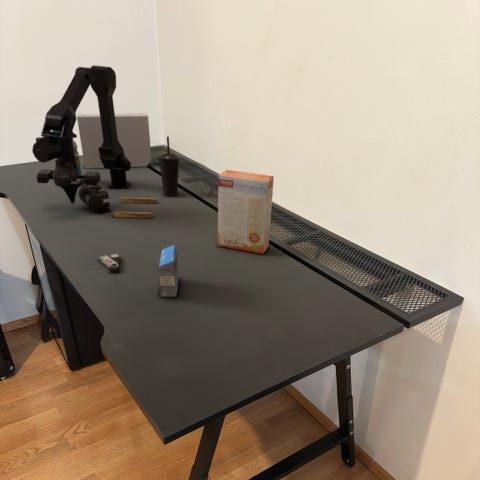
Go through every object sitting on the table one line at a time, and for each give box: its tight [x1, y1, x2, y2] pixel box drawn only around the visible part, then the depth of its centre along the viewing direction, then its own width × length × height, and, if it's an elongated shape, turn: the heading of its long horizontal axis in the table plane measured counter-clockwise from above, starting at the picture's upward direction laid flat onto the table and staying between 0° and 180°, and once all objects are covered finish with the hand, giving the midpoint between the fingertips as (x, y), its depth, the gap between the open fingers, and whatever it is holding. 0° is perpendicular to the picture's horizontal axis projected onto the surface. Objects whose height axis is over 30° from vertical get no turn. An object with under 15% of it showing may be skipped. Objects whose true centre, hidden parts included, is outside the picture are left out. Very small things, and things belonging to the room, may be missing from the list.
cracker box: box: [217, 169, 274, 255], centre depth 126 cm, size 14×6×21 cm, turn 71°
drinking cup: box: [157, 136, 181, 198], centre depth 160 cm, size 8×8×20 cm
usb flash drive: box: [98, 253, 120, 273], centre depth 120 cm, size 9×5×1 cm, turn 12°
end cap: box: [78, 184, 111, 214], centre depth 150 cm, size 10×7×7 cm
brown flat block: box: [113, 196, 158, 219], centre depth 152 cm, size 14×12×2 cm
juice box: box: [158, 234, 179, 298], centre depth 108 cm, size 9×4×12 cm, turn 3°
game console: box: [76, 112, 152, 169], centre depth 186 cm, size 6×27×20 cm, turn 104°
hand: (73, 203), depth 150 cm, fingers closed
